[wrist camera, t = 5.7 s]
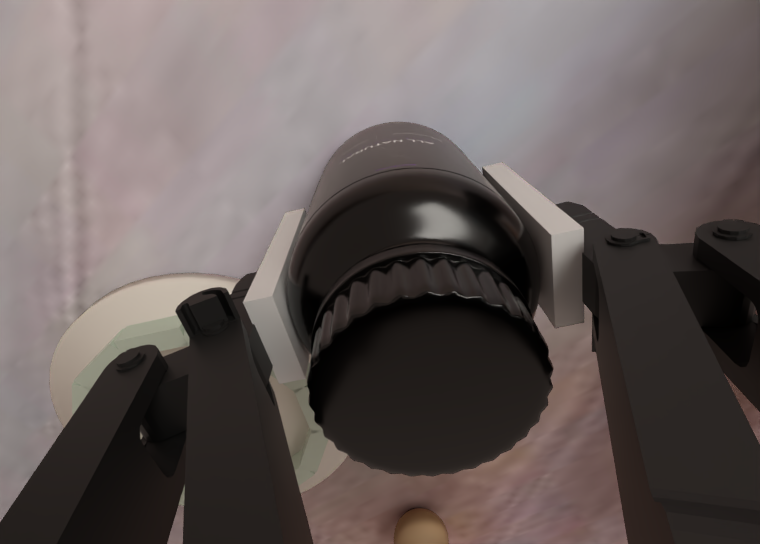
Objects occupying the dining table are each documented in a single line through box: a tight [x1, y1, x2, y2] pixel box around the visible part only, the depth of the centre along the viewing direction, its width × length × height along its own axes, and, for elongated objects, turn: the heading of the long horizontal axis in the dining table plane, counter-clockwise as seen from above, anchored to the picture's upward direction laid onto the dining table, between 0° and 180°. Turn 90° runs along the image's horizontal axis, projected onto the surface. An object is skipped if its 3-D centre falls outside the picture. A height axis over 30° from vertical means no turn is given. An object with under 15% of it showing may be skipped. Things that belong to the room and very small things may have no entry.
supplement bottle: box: [287, 122, 553, 476], centre depth 13 cm, size 7×7×12 cm
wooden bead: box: [394, 508, 448, 544], centre depth 28 cm, size 4×4×4 cm
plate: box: [49, 273, 348, 506], centre depth 23 cm, size 16×16×2 cm
